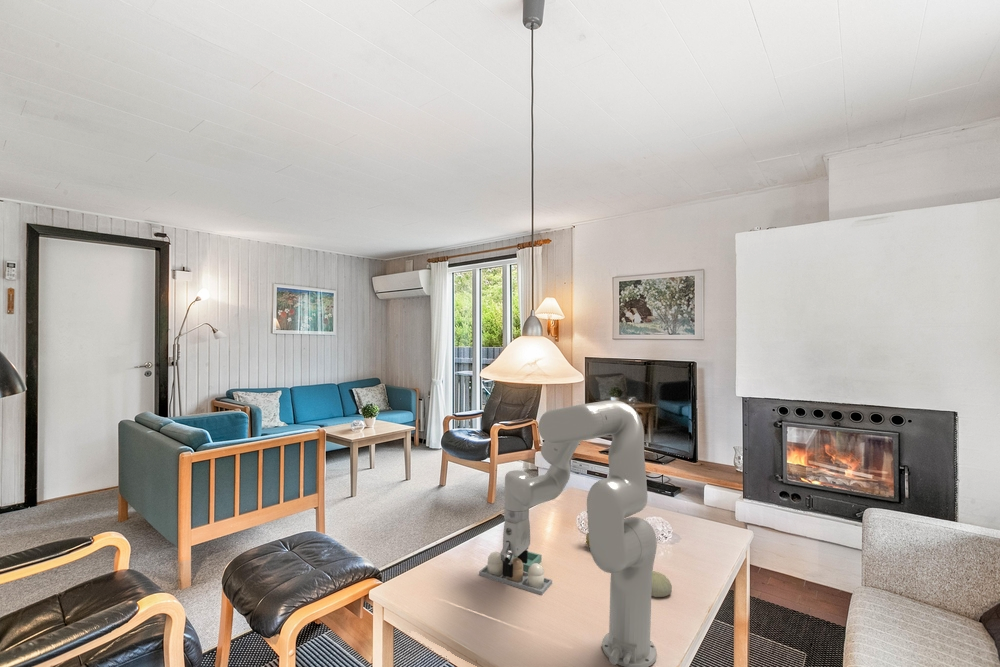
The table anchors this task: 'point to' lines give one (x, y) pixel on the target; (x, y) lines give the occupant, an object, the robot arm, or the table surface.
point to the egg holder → (531, 560)
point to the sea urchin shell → (660, 585)
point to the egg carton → (520, 585)
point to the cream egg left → (495, 564)
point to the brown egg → (517, 570)
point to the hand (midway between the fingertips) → (515, 569)
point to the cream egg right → (536, 576)
